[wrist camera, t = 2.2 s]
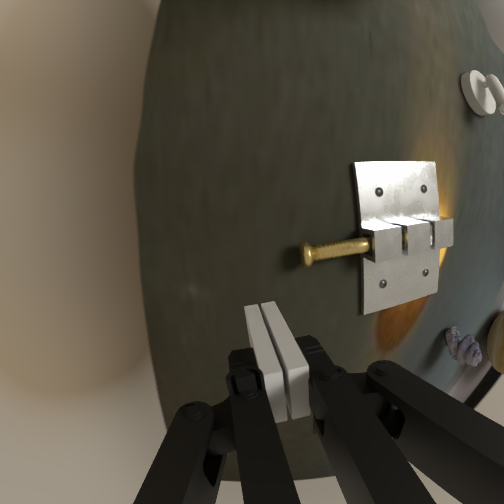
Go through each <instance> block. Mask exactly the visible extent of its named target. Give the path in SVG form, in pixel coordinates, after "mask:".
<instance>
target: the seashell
mask: <svg viewBox="0 0 504 504" xmlns="http://www.w3.org/2000/svg"><path fill="white" fill-rule="evenodd" d="M458 337H459V331H458V330H457V327H452V328H450V329H449V330H447V331H446V340H447V343H448V346H449V352H450V355H451V356H452V358H453V359H455V360H457V361H458V363H459V365H471V366H474V367H476V366H477V364H478V363H479V362H481V360H482V355H481V350H480V349H479V343H478V342H475V341H474V336H473V335H471V334H468V335H466V336H465V337H464V338H463V339H462V340H461V341H460V342H459V340H460V338H458Z"/></svg>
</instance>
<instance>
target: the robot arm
mask: <svg viewBox="0 0 504 504" xmlns="http://www.w3.org/2000/svg"><path fill="white" fill-rule="evenodd" d="M261 306H262V313H263V318H262V315H261V313H260V310H259V307H258V304H256V305H250V306H244V309H245V315H246V321H247V327H248V333H249V339H250V345H251V348H245V349H239V350H233V351H232V352H231V353H230V355H229V357H228V359H229V371H230V372H229V373H228V374H227V376H226V382H227V386H228V390H229V394H230V395H229V397H228V398H227V399H226V400H224V401H223V402H221V403H219V404H217V405H214V406H211V407H210V405H208V404H207V403H205V402H199V401H197V402H190V403H187V404H185V405H183V406H182V407H180V408H179V410H178V411H177V413H176V415H175V417H174V419H173V421H172V423H171V425H170V427H169V429H168V431H167V434H166V436H165V438H164V440H163V442H162V444H161V446H160V448H159V450H158V453H157V455H156V457H155V459H154V461H153V463H152V465H151V467H150V469H149V471H148V473H147V476H146V478H145V480H144V482H143V484H142V486H141V488H140V490H139V492H138V494H137V497H136V499H135V501H134V503H133V504H215V502H216V498H217V494H218V490H219V486H220V482H221V478H222V474H223V470H224V466H225V462H226V457H227V453H229V452H231V451H234V450H236V451H237V459H238V466H239V473H240V480H241V487H242V493H243V500H244V504H301V503H300V500H299V497H298V494H297V491H296V488H295V485H294V481H293V478H292V475H291V472H290V469H289V466H288V462H287V459H286V456H285V453H284V449H283V446H282V443H281V440H280V436H279V433H278V430H277V426H276V423H278V422H283V421H287V412H286V402H287V405H288V408H289V411H290V414H291V417H292V419H296V418H300V417H305V416H309V415H310V408H311V410H312V412H313V431H314V434H316V430H317V432H318V435H319V437H320V440H321V442H322V445H323V447H324V449H325V452H326V454H327V457H328V459H329V462H330V464H331V466H332V469H333V471H334V474H335V476H336V478H337V481H338V483H339V486H340V488H341V490H342V493H343V495H344V497H345V499H346V502H347V504H436V503H435V501H434V500H433V498H432V497H431V495H430V494H429V492H428V491H427V489H426V488H425V486H424V485H423V483H422V482H421V480H420V479H419V477H418V476H417V474H416V473H415V471H414V470H413V468H412V467H411V465H410V464H409V462H410V463H411V464H413V465H414V466H415V467H416V468H417V469H419V470H420V471H421V472H422V473H424V474H425V475H426V476H427V477H429V478H430V479H431V480H432V481H434V482H435V483H436V484H437V485H439V486H440V487H441V488H442V489H444V490H445V491H446V492H448V493H449V494H450V495H452V496H453V497H454V498H456V499H457V500H458V501H460V502H461V503H463V504H504V427H503V426H501V425H500V424H498V423H496V422H494V421H493V420H491V419H489V418H487V417H485V416H484V415H482V414H480V413H479V412H477V411H475V410H473V409H472V408H470V407H468V406H467V405H465V404H463V403H461V402H460V401H458V400H456V399H455V398H453V397H451V396H450V395H448V394H446V393H444V392H443V391H441V390H439V389H438V388H436V387H434V386H433V385H431V384H429V383H428V382H426V381H424V380H423V379H421V378H419V377H418V376H416V375H414V374H413V373H411V372H409V371H408V370H406V369H405V368H403V367H401V366H400V365H398V364H396V363H394V362H392V361H387V360H381V361H376V362H374V363H372V364H371V365H369V367H368V369H367V372H365V373H347V372H346V370H345V369H343V368H342V367H339V366H336V365H334V364H333V362H332V361H331V359H330V358H329V356H328V355H327V353H326V352H325V350H324V349H323V348H322V346H321V345H320V343H319V342H318V340H317V339H316V338H314V337H312V336H310V335H308V336H303V337H299V338H294V337H293V335H292V333H291V332H290V330H289V328H288V326H287V324H286V322H285V320H284V318H283V317H282V315H281V313H280V311H279V309H278V307H277V305H276V304H275V302H274V301H273V302H268V303H262V304H261ZM285 399H286V402H285ZM407 460H408V461H409V462H408V461H407Z"/></svg>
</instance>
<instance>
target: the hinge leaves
mask: <svg viewBox="0 0 504 504" xmlns="http://www.w3.org/2000/svg"><path fill="white" fill-rule="evenodd" d="M352 166H353V174H354V182H355V191H356V200H357V211H358V223H359V238H361V237H368V236H372V247H373V251H369V252H364V253H360V257H361V313H362V314H363V315H365V314H369V313H372V312H376V311H379V310H383V309H386V308H390V307H393V306H396V305H399V304H403V303H406V302H409V301H412V300H415V299H418V298H421V297H424V296H427V295H430V294H433V293H436V292H437V289H438V275H439V252H440V249H441V248H445V247H449V246H453V218H447V217H440V216H439V200H438V187H437V177H436V168H435V162H415V161H389V162H355V163H352ZM404 230H405V245H402V232H401V231H404Z"/></svg>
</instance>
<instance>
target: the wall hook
mask: <svg viewBox="0 0 504 504" xmlns="http://www.w3.org/2000/svg"><path fill="white" fill-rule="evenodd" d="M461 86H462V90H463V93H464V96H465V98H466V100H467V102H468V104H469V105H470V107H471V108H472V109H473V111H474V112H475V113H477V114H478V115H480V116H483V115H489V114H493V113H494V111H495V107H496V104H497V106H498V108H499V110H500V112H501V114H503V115H504V89H503V87H502V85H501V83H500V82H499V80H498V78H497V77H496V76H494V75H492V74H488V75H487V76H486V79H485V78H484V76H483V75H482V74H481V73H479V72H478V71H475V70H473V71H470V72H467V73H464V74H463V75H462V77H461ZM495 102H496V104H495Z"/></svg>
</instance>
